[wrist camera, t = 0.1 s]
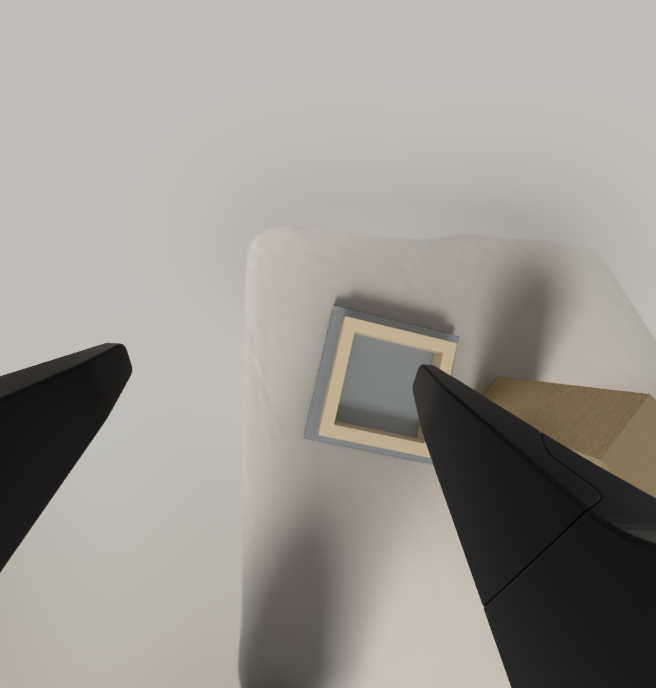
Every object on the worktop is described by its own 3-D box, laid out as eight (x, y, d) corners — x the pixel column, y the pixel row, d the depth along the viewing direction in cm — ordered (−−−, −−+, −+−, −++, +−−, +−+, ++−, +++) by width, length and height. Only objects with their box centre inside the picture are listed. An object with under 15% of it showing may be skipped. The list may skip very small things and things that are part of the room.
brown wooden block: (501, 445, 25) (659, 517, 14) (467, 412, 25) (599, 459, 14) (530, 408, 25) (706, 451, 14) (497, 376, 25) (650, 394, 14)
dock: (427, 460, 24) (442, 472, 22) (304, 434, 23) (304, 444, 21) (452, 336, 25) (469, 335, 22) (333, 307, 24) (336, 302, 21)
